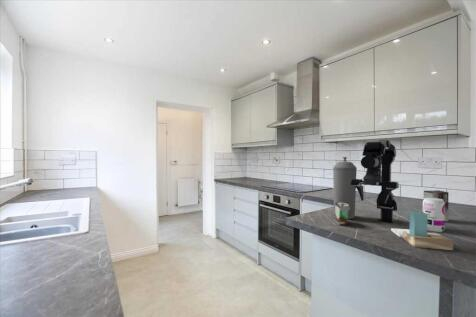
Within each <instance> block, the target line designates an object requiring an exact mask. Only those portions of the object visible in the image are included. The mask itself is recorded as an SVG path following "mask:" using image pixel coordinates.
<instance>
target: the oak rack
mask: <svg viewBox="0 0 476 317" xmlns="http://www.w3.org/2000/svg"><path fill="white" fill-rule="evenodd" d="M435 233H436V234H438V235H439V236H441V237H443V238H433V237H429V236H427V237H419V236H412V235H410V234H409V233H407V232H406V231H403V237H402V239H404V240H405V241H406V242H408V243H409V244H410V245H411V246H412V247H414V248H421V249H435V250H444V251H445V250H448V251H454V239H453V238H447V237H445V236H443V235H441V234H439V233H438V232H435Z"/></svg>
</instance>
